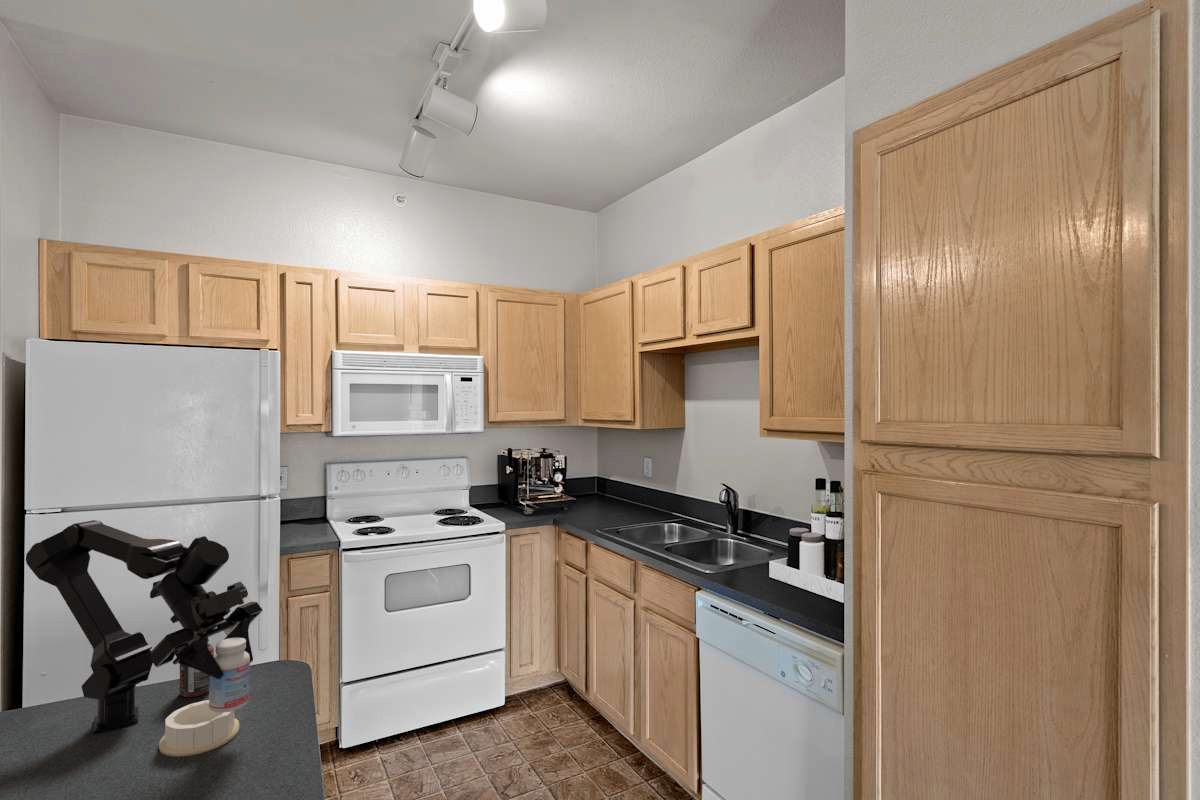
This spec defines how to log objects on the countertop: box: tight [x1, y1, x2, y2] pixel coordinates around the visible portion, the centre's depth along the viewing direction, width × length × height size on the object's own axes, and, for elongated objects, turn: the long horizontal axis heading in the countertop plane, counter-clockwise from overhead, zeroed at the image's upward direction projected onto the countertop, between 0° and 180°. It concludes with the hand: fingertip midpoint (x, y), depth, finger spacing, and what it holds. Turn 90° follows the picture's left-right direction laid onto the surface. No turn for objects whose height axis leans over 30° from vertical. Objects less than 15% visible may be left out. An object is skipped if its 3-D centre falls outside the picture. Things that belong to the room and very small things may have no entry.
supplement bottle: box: [178, 637, 215, 698], centre depth 126 cm, size 6×6×11 cm
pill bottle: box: [208, 637, 251, 713], centre depth 108 cm, size 6×6×11 cm
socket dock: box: [158, 699, 240, 758], centre depth 109 cm, size 12×12×4 cm
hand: (236, 669), depth 108 cm, fingers closed on pill bottle, 6 cm apart
